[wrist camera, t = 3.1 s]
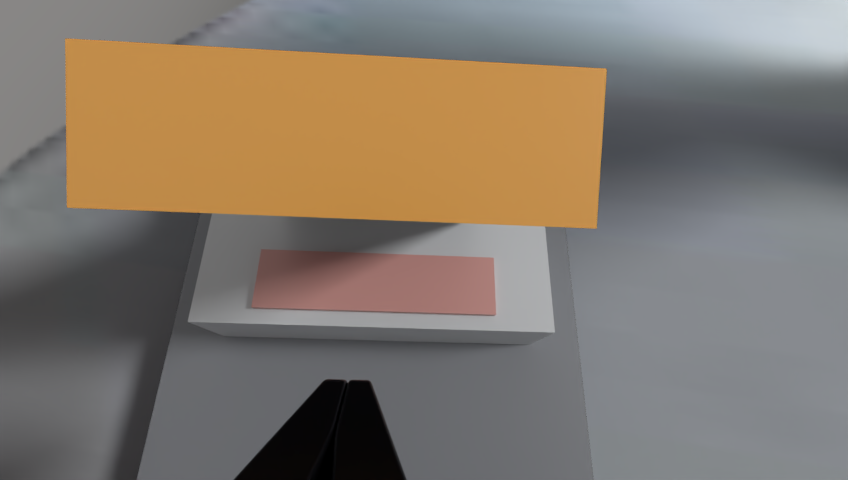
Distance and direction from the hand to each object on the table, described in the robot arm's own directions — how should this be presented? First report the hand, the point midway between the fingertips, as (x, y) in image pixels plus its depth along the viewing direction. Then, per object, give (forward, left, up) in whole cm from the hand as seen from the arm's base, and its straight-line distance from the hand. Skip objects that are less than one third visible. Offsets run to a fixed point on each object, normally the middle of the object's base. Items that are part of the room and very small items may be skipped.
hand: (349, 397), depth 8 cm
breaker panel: (+2, +4, -10) cm, 11 cm away
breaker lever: (+3, +6, -5) cm, 9 cm away
